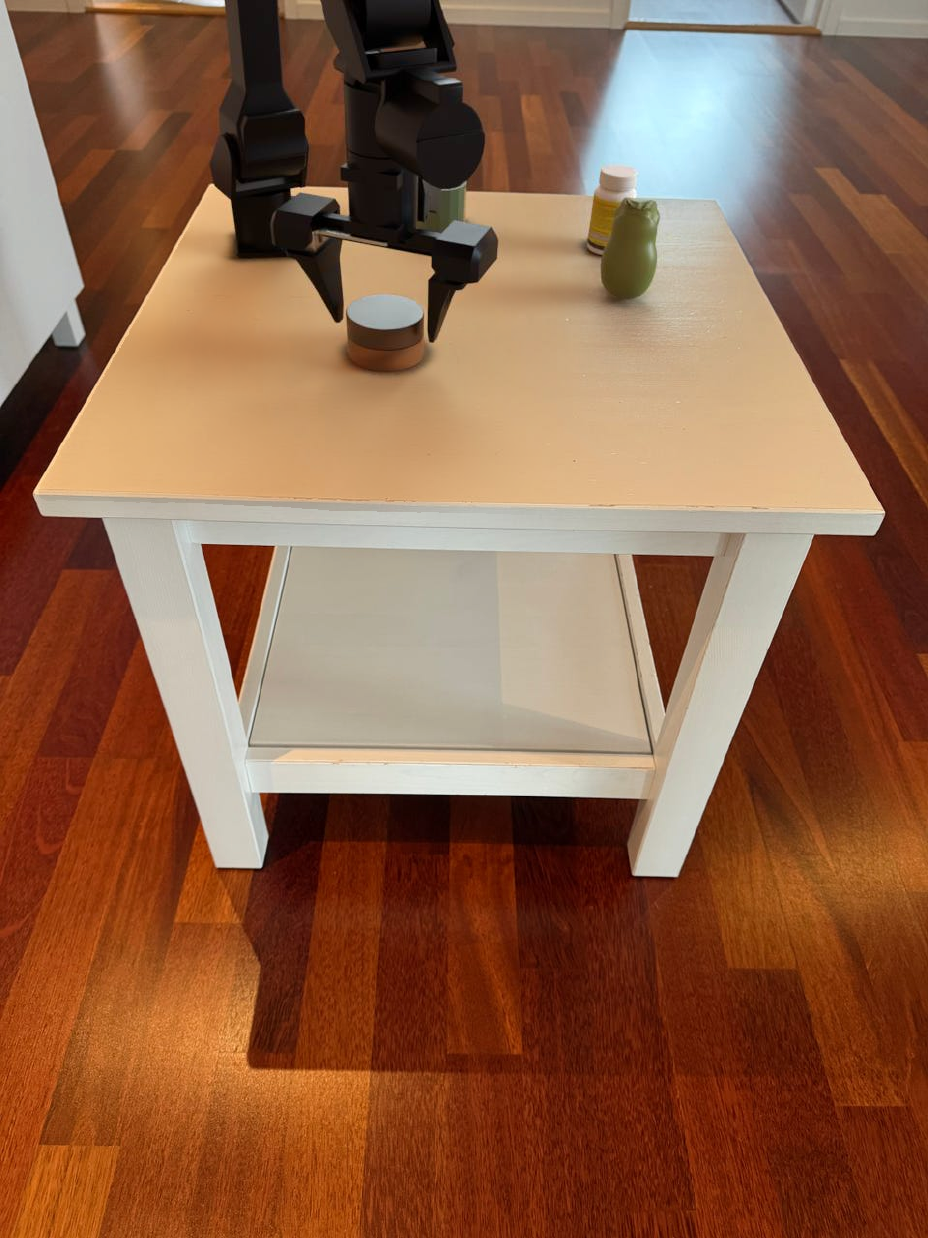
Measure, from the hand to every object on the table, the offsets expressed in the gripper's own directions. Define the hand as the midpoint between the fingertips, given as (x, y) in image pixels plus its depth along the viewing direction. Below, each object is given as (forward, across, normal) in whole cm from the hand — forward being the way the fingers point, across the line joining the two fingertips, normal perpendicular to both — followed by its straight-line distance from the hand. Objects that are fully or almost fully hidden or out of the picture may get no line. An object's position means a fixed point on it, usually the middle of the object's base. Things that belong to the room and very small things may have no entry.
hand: (385, 330), depth 84 cm
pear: (+2, -18, -21) cm, 28 cm away
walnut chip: (0, 0, 0) cm, 0 cm away
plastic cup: (+2, +6, -30) cm, 31 cm away
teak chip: (+2, 0, 0) cm, 2 cm away
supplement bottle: (+2, -14, -32) cm, 35 cm away
